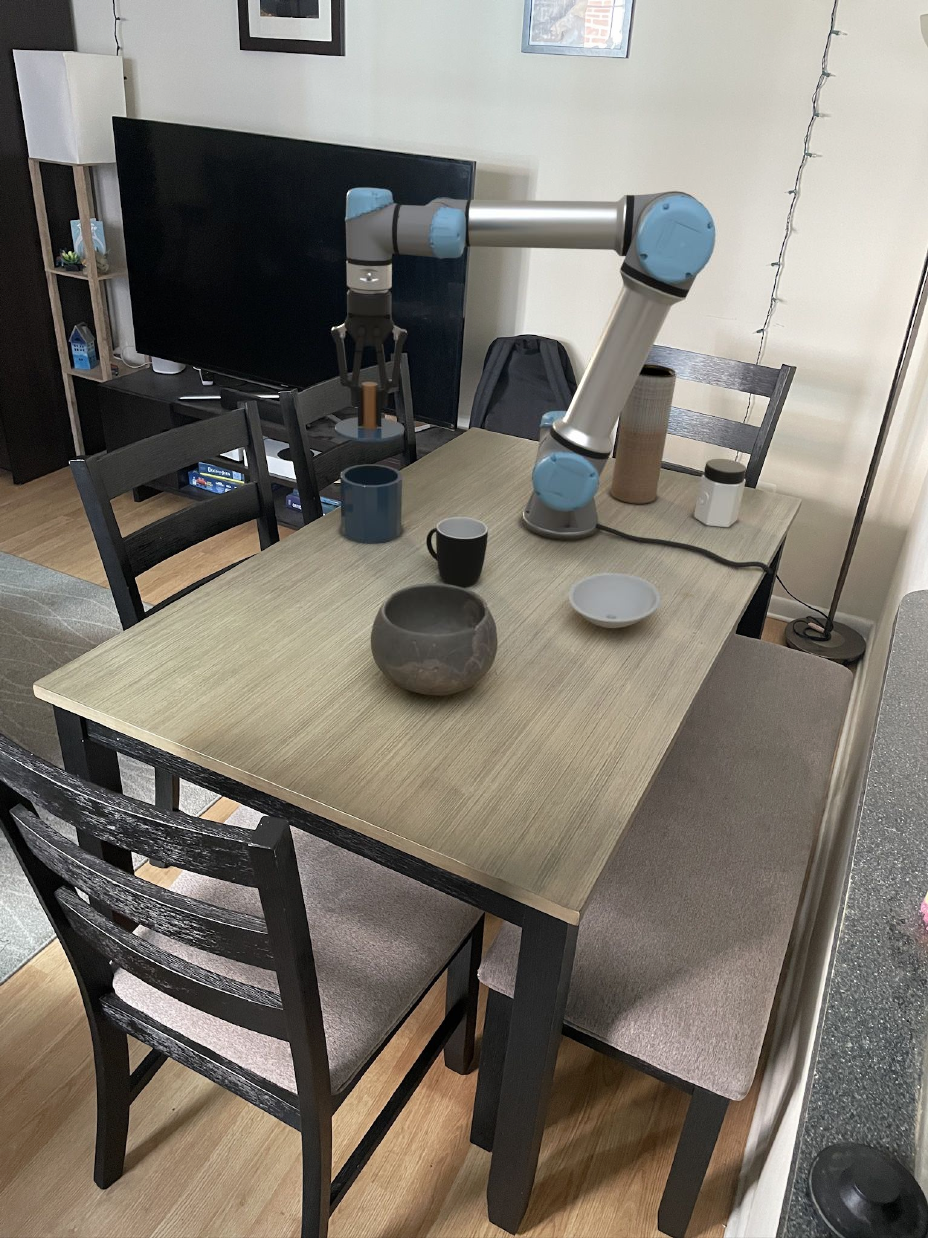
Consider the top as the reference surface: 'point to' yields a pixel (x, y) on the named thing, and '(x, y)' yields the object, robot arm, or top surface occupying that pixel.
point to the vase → (643, 435)
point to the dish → (614, 599)
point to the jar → (720, 492)
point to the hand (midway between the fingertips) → (369, 424)
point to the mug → (459, 549)
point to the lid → (369, 421)
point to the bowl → (434, 638)
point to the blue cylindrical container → (371, 503)
